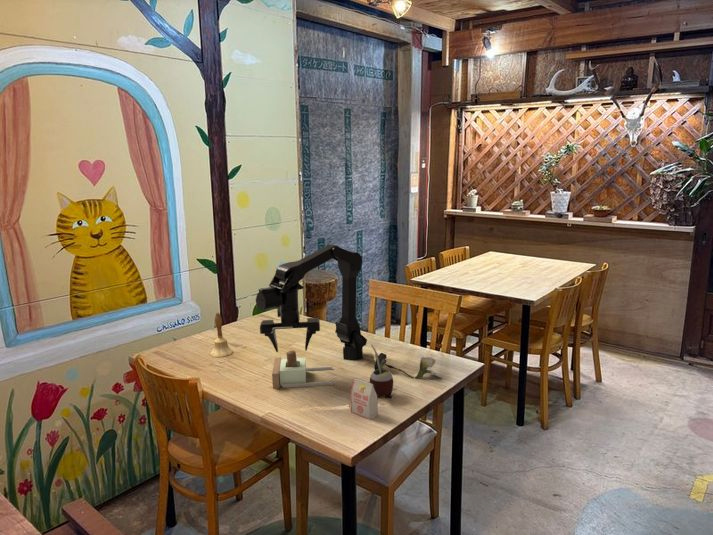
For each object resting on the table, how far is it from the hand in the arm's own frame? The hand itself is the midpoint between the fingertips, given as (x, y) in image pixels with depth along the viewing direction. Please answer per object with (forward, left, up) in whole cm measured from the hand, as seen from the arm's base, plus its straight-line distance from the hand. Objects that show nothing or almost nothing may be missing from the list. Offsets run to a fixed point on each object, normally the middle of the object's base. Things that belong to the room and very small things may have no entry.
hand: (291, 351), depth 166 cm
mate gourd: (-27, +14, -11) cm, 32 cm away
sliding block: (0, 0, -10) cm, 10 cm away
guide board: (-4, 0, -11) cm, 11 cm away
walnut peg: (0, 0, -9) cm, 9 cm away
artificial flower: (-39, 0, -11) cm, 40 cm away
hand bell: (+28, -29, -11) cm, 42 cm away
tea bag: (-21, +24, -11) cm, 34 cm away
